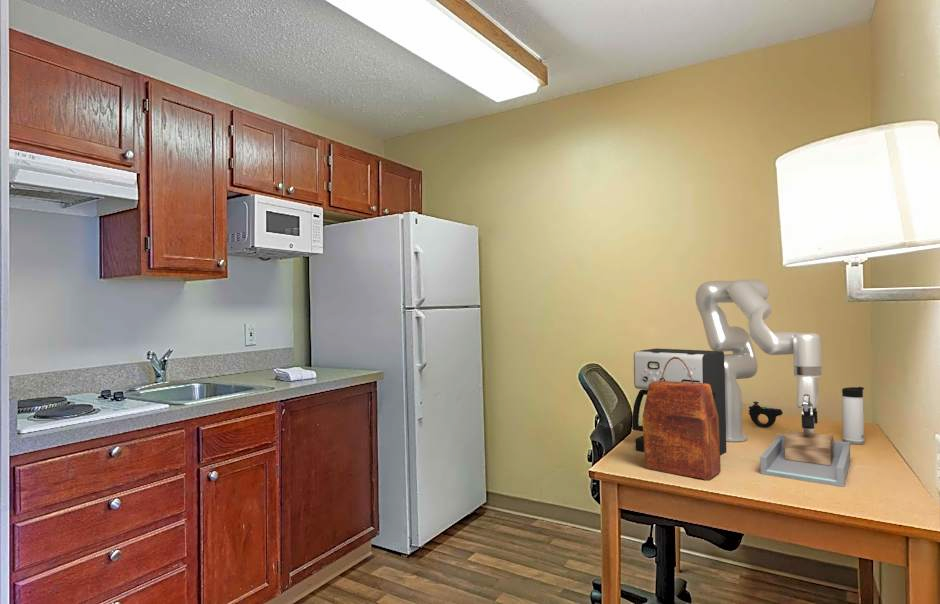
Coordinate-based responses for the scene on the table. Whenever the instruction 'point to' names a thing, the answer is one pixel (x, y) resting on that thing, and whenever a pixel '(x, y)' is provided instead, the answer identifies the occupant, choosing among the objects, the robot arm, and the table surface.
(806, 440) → the knobbed wooden box
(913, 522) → the table surface
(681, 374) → the coffee maker
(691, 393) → the handbag
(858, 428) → the travel mug
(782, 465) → the bay
